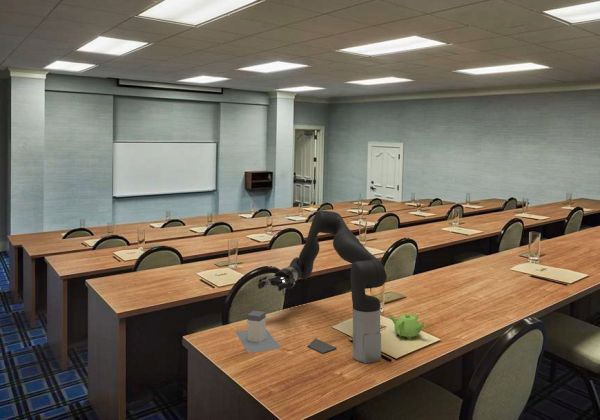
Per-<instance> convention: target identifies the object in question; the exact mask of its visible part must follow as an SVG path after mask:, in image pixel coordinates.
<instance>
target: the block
mask: <svg viewBox="0 0 600 420" xmlns="http://www.w3.org/2000/svg"><path fill="white" fill-rule="evenodd" d="M246 316H247V330H248V341H252V342H259V343H260V342H262V341H263V340H264V339H265V338H266V329H267V323H266V321H267V318H266V317H267V316H266V311H258V310H252V311H251V312H250V313H248V314H247V315H246Z"/></svg>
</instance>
